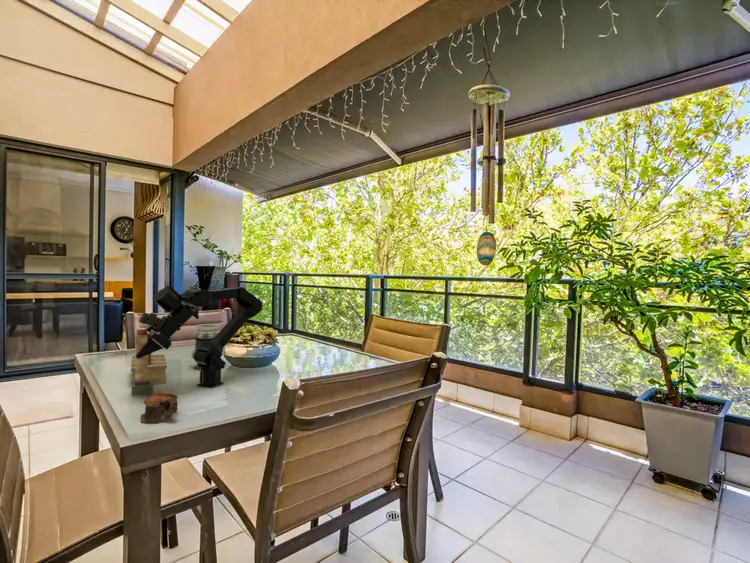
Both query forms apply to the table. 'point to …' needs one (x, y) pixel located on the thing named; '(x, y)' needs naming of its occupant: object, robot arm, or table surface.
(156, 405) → the brown black chunky piece
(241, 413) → the table surface
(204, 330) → the apothecary jar
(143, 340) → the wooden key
